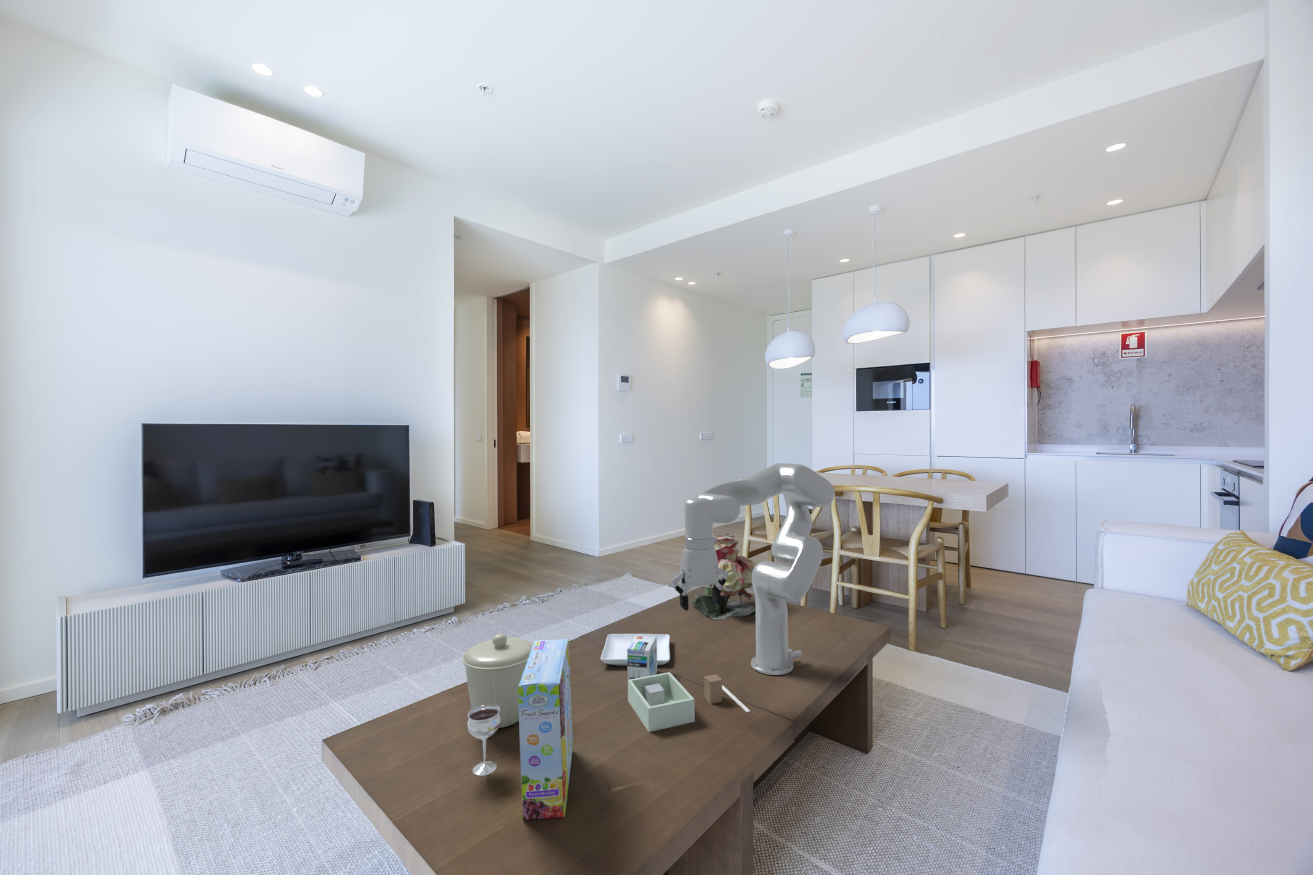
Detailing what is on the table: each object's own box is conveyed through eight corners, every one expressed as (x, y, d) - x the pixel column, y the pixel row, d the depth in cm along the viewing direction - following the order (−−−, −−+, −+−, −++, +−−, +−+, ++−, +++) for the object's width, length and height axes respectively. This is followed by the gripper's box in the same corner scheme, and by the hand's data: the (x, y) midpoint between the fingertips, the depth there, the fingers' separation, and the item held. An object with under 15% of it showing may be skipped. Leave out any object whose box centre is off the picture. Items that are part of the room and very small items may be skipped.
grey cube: (658, 698, 144) (658, 683, 143) (664, 705, 140) (664, 689, 140) (644, 700, 142) (644, 685, 142) (650, 708, 138) (649, 692, 138)
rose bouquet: (716, 624, 199) (715, 543, 199) (684, 601, 226) (683, 530, 226) (775, 615, 208) (774, 537, 208) (737, 594, 235) (736, 525, 235)
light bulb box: (650, 689, 150) (649, 650, 150) (626, 687, 151) (626, 648, 151) (657, 672, 160) (657, 636, 160) (635, 670, 162) (635, 634, 161)
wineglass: (462, 777, 112) (461, 720, 112) (475, 758, 119) (474, 704, 119) (494, 778, 112) (493, 721, 112) (505, 758, 119) (504, 704, 118)
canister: (551, 705, 141) (549, 625, 141) (510, 743, 124) (509, 652, 124) (492, 695, 147) (491, 618, 147) (446, 730, 130) (445, 643, 130)
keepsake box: (628, 702, 143) (627, 679, 142) (670, 693, 147) (669, 671, 147) (648, 733, 128) (648, 708, 128) (694, 723, 132) (694, 698, 132)
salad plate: (669, 642, 183) (669, 632, 183) (670, 670, 162) (669, 659, 162) (607, 642, 184) (607, 632, 184) (599, 670, 163) (599, 659, 163)
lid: (679, 693, 148) (678, 669, 148) (720, 685, 153) (719, 661, 152) (705, 724, 133) (705, 696, 133) (750, 713, 137) (750, 687, 137)
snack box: (534, 752, 121) (532, 638, 120) (574, 750, 121) (572, 636, 121) (518, 822, 99) (515, 683, 99) (566, 819, 100) (563, 681, 100)
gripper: (719, 537, 153) (721, 597, 153) (664, 544, 146) (666, 607, 146) (734, 542, 146) (735, 605, 146) (676, 549, 139) (678, 615, 140)
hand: (700, 606), depth 146 cm, fingers open, 9 cm apart
